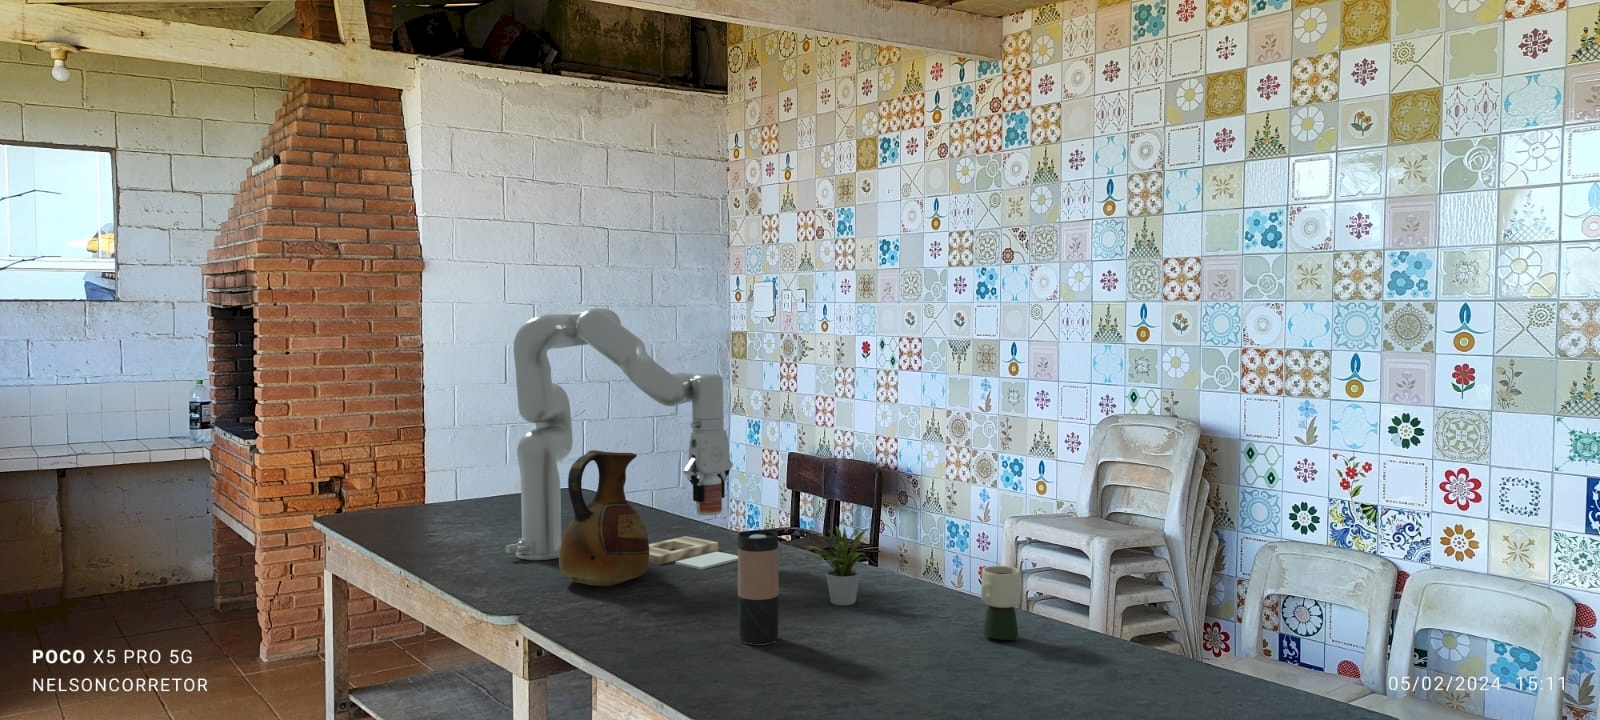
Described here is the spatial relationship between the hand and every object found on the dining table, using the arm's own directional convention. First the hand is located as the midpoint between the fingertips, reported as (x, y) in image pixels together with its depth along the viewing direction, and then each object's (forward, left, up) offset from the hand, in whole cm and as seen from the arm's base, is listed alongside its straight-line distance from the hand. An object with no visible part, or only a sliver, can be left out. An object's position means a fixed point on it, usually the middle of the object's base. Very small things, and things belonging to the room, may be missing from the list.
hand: (709, 498), depth 273 cm
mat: (0, 0, -15) cm, 15 cm away
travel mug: (-38, -52, -16) cm, 66 cm away
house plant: (-6, -47, -16) cm, 50 cm away
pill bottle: (0, 0, -4) cm, 4 cm away
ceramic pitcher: (-29, +4, -16) cm, 33 cm away
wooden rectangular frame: (0, +13, -15) cm, 20 cm away
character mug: (-8, -86, -16) cm, 88 cm away
